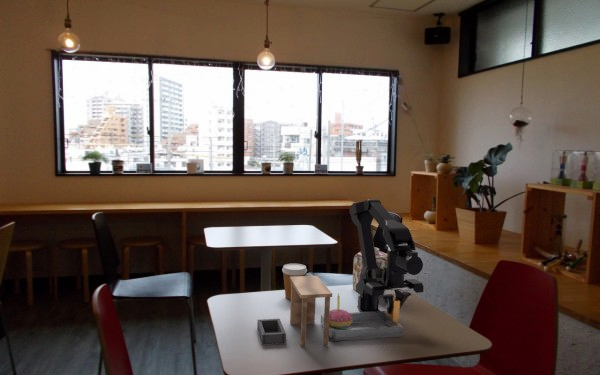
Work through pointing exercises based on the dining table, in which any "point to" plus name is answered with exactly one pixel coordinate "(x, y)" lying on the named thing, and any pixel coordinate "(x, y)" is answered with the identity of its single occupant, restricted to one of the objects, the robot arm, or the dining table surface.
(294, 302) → the small wooden table
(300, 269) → the disposable coffee cup
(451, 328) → the dining table surface
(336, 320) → the cupcake
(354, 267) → the decorative jar
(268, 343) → the box
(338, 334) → the grey shallow tray
